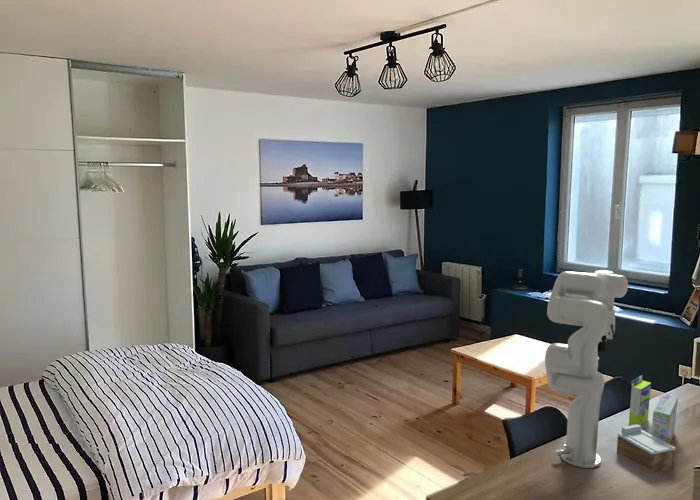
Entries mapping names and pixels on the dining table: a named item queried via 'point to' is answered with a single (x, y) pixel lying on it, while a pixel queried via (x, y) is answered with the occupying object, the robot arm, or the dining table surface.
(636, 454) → the keepsake box
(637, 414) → the box
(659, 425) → the snack box
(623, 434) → the lid
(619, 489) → the dining table surface
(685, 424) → the dining table surface
